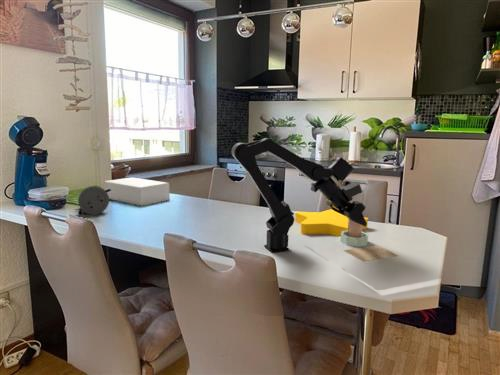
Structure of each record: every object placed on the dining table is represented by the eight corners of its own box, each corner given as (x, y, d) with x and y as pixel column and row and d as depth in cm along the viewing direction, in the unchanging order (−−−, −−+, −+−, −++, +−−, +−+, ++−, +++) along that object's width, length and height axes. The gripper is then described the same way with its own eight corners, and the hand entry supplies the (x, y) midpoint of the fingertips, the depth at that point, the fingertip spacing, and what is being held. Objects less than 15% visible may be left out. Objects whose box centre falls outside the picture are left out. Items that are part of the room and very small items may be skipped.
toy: (123, 204, 157) (112, 195, 183) (105, 179, 153) (97, 174, 179) (87, 227, 151) (82, 215, 177) (68, 203, 147) (65, 194, 173)
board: (362, 264, 109) (363, 261, 109) (342, 253, 118) (343, 250, 118) (398, 258, 114) (398, 255, 114) (376, 248, 124) (377, 245, 123)
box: (141, 206, 180) (141, 187, 178) (105, 198, 196) (104, 181, 194) (169, 200, 195) (169, 182, 193) (133, 193, 211) (133, 177, 210)
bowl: (351, 250, 121) (352, 239, 121) (335, 241, 130) (336, 231, 129) (372, 247, 125) (373, 236, 124) (356, 239, 133) (356, 229, 132)
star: (344, 208, 164) (385, 225, 137) (344, 217, 165) (384, 237, 138) (283, 212, 156) (314, 231, 128) (283, 221, 157) (313, 243, 129)
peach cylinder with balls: (356, 245, 124) (359, 208, 121) (344, 242, 127) (346, 205, 125) (363, 242, 127) (366, 206, 125) (351, 239, 130) (354, 203, 128)
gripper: (362, 178, 113) (390, 211, 117) (336, 170, 131) (361, 199, 135) (337, 203, 113) (366, 235, 117) (315, 192, 131) (341, 220, 135)
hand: (359, 221), depth 126 cm, fingers open, 9 cm apart
